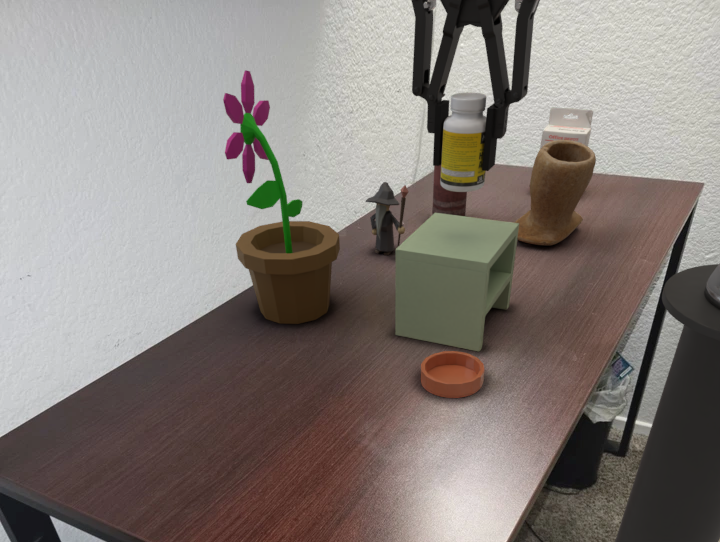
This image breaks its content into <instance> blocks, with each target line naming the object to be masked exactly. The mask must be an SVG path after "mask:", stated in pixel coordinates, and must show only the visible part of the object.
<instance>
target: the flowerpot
mask: <svg viewBox="0 0 720 542" xmlns="http://www.w3.org/2000/svg"><path fill="white" fill-rule="evenodd" d="M222 100H223V105H224V110H225V114H226V115H227V116H228V118H229V119H230V120H231V122H232V123H233V124H237V125H239V127H240V128H239V130H240V132H237V131H233V132H232V133H231V135H230V136H229V137H228V138H227V139H226V145H225V150H224V155H225V158H226V160H236V159H238V158H239V156H240V155H241V159H242V160H241V162H242V173H243V176H244V180H245V182H246V184H252V183H253V180H254V176H255V173H256V155H257V157H258V158H259V159H261V160H264V161H265V160H266V161H269V164H270V166H271V169H272V173H273V178H274V180H273V179H271V180H270V179H269V180H268V179H267V180H266V181H264V182H263V183H262V184H260V186H258V187H257V188H256V189H255V190H254V191H253V193H252V194H251V195H250V196H249V197H248V198H247V199H246V201H245V202H246V205H247V206H248V207H249V206H250V207H253V208H256V209H258V210H259V209H260V210H265V209H269V208H274V207H275V205H276V204H277V203H278V201H279V203H280V211H281V212H280V213H281V221H277V222H272V223H268V224H261V225H259V226H255V227H254V228H252V229H250V230H248V231H245V232H243V233H242V234H241V235H240V237H239V238H238V239H237V241H236V242H235V250H236V256H237V259H238V261H239V262H240V264H242V266H243V267H244V268H245V269H247V270H248V272H249V276H250V279H251V282H252V286H253V290H254V294H255V297H256V300H257V304H258V308H259V311H260V313H261V314H262V315H263V317H264V318H265V319H266V320H268V321H271V322H274V323H277V324H283V325H299V324H303V323H309V322H311V321H316V320H317V319H319V318H321V317H322V316H324V315H325V314H327V313H328V310H329V307H330V300H331V298H330V297H331V285H332V283H331V282H332V269H333V268H332V267H333V262H334V261H336V260H338V256H339V254H340V250H341V245H340V233H338V231H336V230H335V229H333V227H331V226H330V225H326V224H323V223H318V222H314V221H310V220H303V221H302V220H296V221H295V220H290V218H295V217H297V216H299V215H300V214H301V212H302V209H303V200H301V199H299V198H298V199H291V200H290V201H289V202H288V196H287V192H286V188H285V183H284V179H283V177H282V172H281V169H280V166H279V161H278V160H277V157H276V155H275V154H274V151H273V150H272V147H271V145H270V144H269V142H268V139H267V138H266V136H265V135H264V132H262V130H261V129H260V128H259V127H263V126H264V124H265V123H266V122H267V121H268V119H269V115H270V110H271V106H270V101H269V100H267V99H266V100H259V101H258V102H257V103H256V104H255V84H254V80H253V77H252V73H251V71H249V70H244V72H243V76H242V79H241V82H240V100H239V99H238V98H237V96H236V95H234V94H231V93H227V92H224V95H223V99H222ZM240 101H241V102H240ZM254 105H255V106H254ZM244 145H245V146H244Z"/></svg>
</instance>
